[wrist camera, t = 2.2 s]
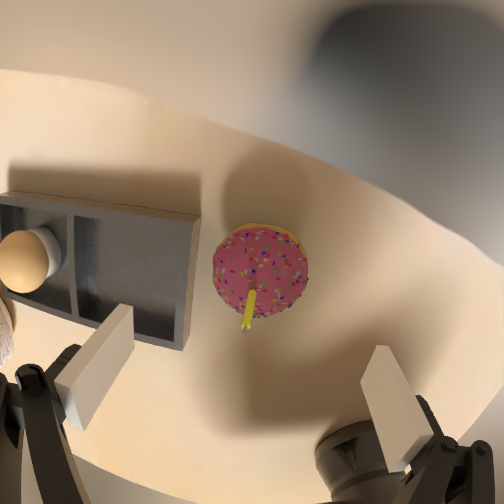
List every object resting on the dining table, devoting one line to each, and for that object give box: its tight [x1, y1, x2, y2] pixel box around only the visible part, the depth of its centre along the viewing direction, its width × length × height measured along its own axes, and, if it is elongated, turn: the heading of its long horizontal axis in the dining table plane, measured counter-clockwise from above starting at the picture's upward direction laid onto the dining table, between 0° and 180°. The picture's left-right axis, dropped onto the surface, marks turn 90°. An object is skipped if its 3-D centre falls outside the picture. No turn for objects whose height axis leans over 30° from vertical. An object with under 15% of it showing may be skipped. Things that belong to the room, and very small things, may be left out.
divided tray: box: [0, 191, 201, 351], centre depth 31 cm, size 27×14×4 cm, turn 81°
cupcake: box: [213, 223, 308, 336], centre depth 25 cm, size 9×8×12 cm
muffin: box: [0, 226, 61, 293], centre depth 28 cm, size 7×7×8 cm
